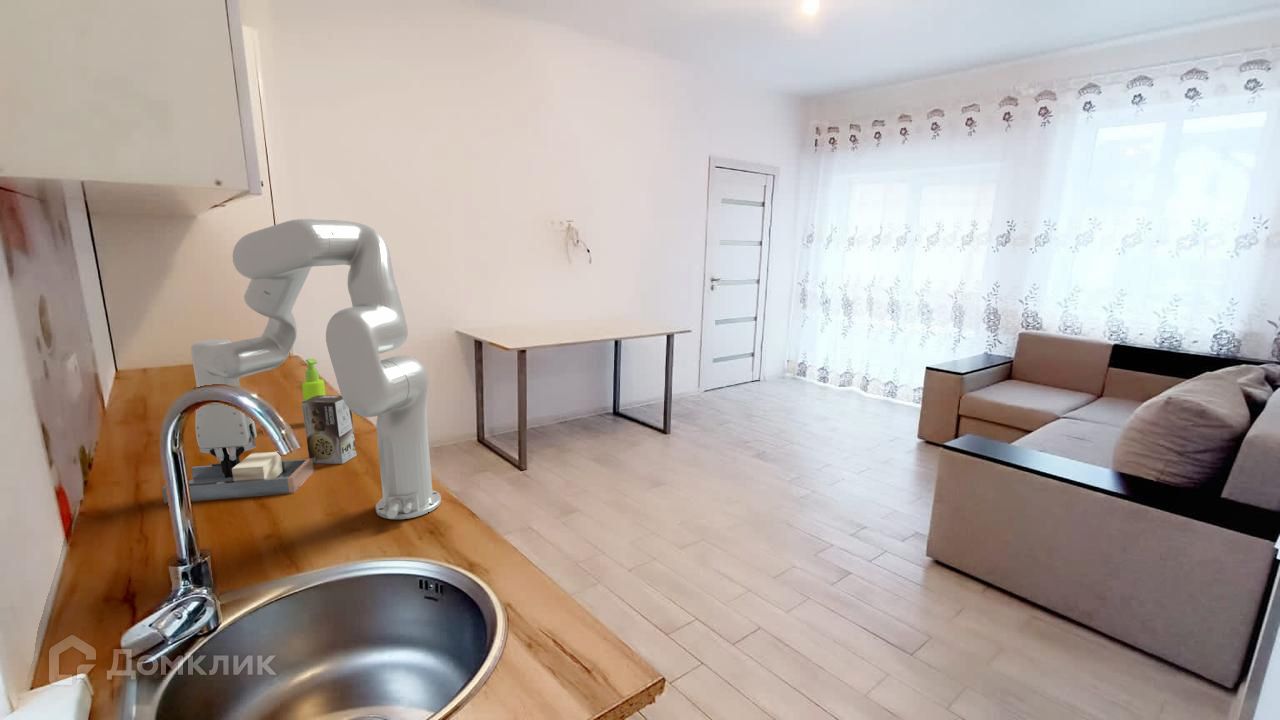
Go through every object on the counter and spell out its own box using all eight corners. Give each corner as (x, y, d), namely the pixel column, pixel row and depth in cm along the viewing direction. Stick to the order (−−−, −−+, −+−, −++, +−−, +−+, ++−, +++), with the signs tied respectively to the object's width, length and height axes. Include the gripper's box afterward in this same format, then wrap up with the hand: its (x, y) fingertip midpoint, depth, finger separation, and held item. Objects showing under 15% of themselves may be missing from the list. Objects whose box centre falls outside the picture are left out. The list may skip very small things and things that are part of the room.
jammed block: (265, 487, 124) (262, 466, 123) (235, 490, 123) (231, 468, 122) (283, 471, 133) (280, 451, 132) (254, 473, 132) (251, 453, 131)
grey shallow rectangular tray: (294, 493, 124) (292, 476, 124) (164, 503, 120) (161, 486, 119) (313, 472, 136) (311, 456, 135) (196, 480, 131) (193, 464, 130)
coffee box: (357, 455, 147) (351, 395, 143) (342, 464, 140) (335, 402, 137) (324, 454, 148) (317, 394, 144) (308, 463, 141) (300, 401, 138)
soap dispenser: (310, 428, 168) (302, 362, 164) (304, 423, 173) (296, 359, 169) (332, 424, 172) (324, 359, 168) (325, 419, 177) (318, 356, 173)
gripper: (265, 390, 128) (276, 466, 132) (190, 393, 125) (203, 471, 129) (250, 399, 121) (262, 479, 125) (170, 402, 118) (184, 485, 122)
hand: (232, 475), depth 127 cm, fingers closed
